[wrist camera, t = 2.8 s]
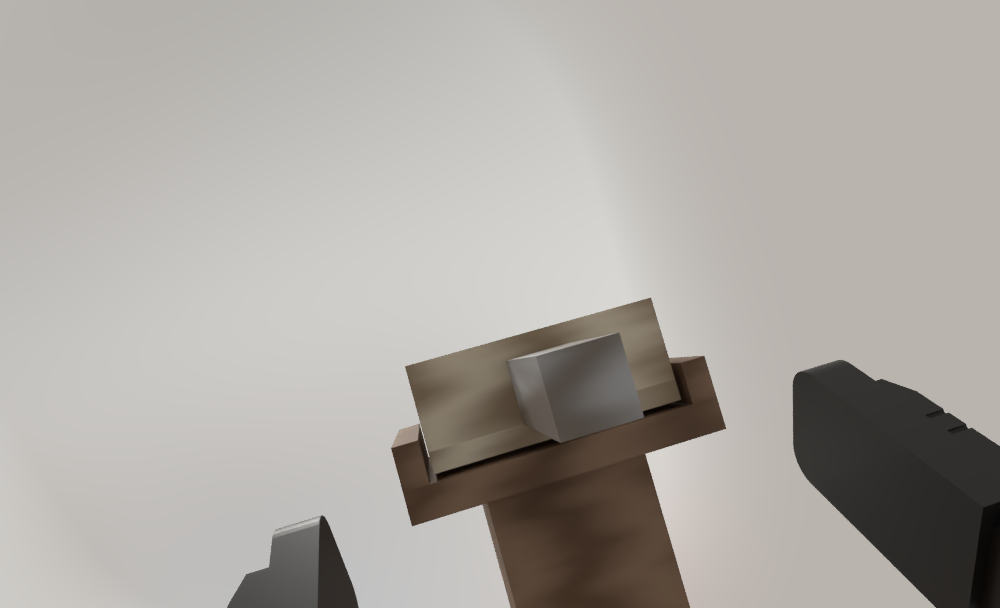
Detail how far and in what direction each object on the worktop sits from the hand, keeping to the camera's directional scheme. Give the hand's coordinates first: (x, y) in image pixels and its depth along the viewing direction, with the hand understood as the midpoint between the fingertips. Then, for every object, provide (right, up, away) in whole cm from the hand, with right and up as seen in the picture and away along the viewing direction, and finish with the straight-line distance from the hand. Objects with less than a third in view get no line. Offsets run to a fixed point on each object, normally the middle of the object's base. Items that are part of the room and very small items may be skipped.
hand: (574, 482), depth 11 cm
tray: (+2, -3, +21) cm, 21 cm away
